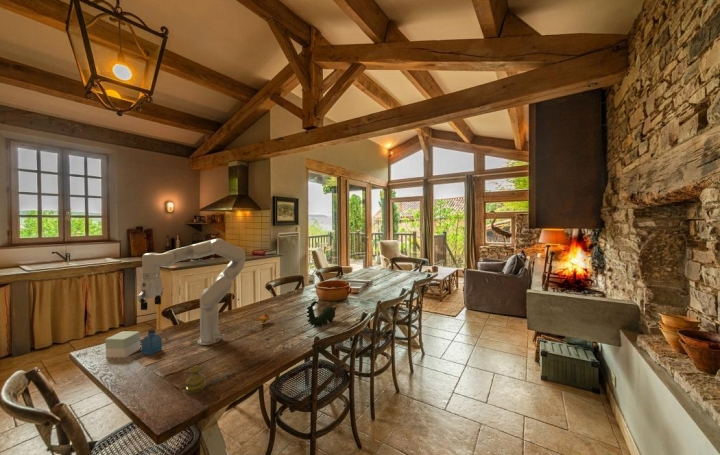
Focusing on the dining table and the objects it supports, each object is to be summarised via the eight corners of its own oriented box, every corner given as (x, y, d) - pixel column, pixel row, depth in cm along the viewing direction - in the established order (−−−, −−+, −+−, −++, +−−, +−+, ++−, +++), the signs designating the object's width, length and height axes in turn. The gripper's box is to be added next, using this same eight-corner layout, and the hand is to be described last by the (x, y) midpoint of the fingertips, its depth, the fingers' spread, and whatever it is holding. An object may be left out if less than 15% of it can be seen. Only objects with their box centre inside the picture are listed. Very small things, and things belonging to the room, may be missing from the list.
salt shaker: (181, 392, 117) (181, 368, 116) (197, 382, 124) (197, 360, 123) (193, 396, 114) (193, 372, 114) (209, 386, 121) (209, 363, 121)
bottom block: (140, 349, 155) (139, 340, 155) (124, 358, 145) (124, 348, 145) (122, 349, 155) (122, 340, 155) (105, 358, 145) (105, 348, 145)
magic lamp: (248, 327, 187) (247, 311, 186) (269, 319, 202) (269, 304, 202) (254, 329, 183) (254, 313, 183) (275, 321, 199) (275, 305, 199)
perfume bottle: (151, 354, 149) (150, 332, 148) (141, 353, 150) (141, 331, 149) (161, 349, 155) (161, 328, 154) (152, 348, 156) (152, 327, 156)
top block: (139, 340, 155) (139, 331, 155) (124, 348, 145) (124, 339, 145) (122, 340, 155) (122, 331, 155) (105, 348, 145) (105, 339, 145)
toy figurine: (314, 333, 182) (341, 319, 200) (312, 305, 180) (340, 294, 198) (305, 329, 188) (332, 316, 207) (303, 302, 187) (331, 292, 205)
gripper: (145, 279, 143) (145, 312, 143) (169, 272, 160) (169, 302, 160) (130, 278, 143) (131, 311, 143) (156, 272, 160) (156, 302, 160)
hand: (151, 306), depth 152 cm, fingers open, 9 cm apart
